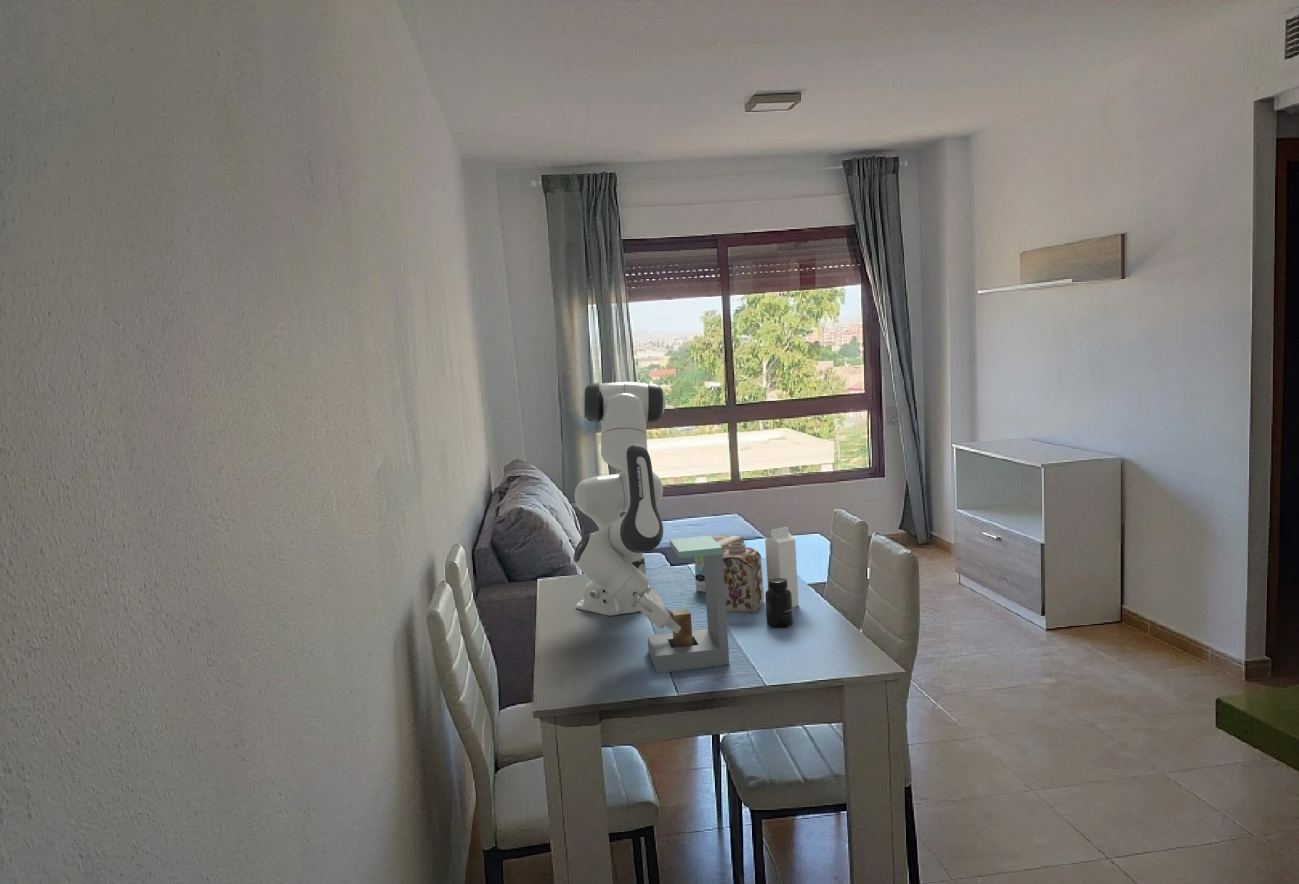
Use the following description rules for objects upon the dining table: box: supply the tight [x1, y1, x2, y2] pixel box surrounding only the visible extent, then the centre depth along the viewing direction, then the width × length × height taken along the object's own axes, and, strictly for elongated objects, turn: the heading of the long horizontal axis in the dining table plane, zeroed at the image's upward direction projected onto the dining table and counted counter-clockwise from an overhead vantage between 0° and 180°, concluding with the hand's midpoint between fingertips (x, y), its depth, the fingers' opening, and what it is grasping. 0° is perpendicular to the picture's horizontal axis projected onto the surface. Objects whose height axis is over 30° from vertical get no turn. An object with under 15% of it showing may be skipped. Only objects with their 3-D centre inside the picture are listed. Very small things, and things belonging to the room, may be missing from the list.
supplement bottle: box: [764, 578, 794, 629], centre depth 229 cm, size 7×7×12 cm
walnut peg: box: [670, 608, 693, 648], centre depth 209 cm, size 4×4×11 cm
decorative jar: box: [722, 542, 765, 614], centre depth 247 cm, size 12×12×18 cm
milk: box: [764, 526, 800, 608], centre depth 245 cm, size 6×6×22 cm
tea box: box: [694, 534, 745, 593], centre depth 269 cm, size 15×10×15 cm, turn 148°
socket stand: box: [647, 535, 730, 674], centre depth 208 cm, size 17×15×28 cm
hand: (675, 624), depth 208 cm, fingers open, 8 cm apart
